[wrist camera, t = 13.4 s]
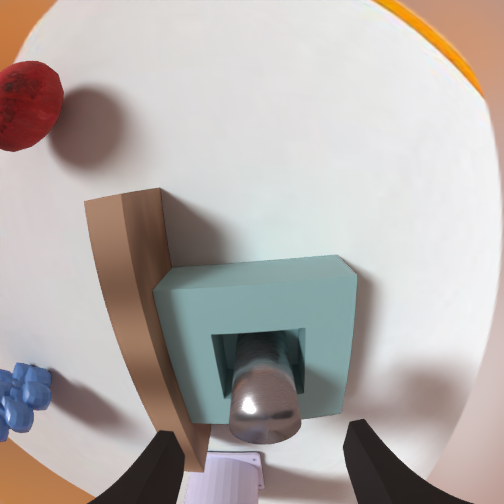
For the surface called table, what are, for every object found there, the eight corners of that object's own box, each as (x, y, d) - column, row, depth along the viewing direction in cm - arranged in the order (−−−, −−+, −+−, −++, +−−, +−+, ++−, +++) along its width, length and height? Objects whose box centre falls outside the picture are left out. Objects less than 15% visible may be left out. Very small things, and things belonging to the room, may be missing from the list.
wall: (210, 428, 20) (203, 472, 15) (189, 427, 20) (179, 470, 16) (159, 187, 15) (121, 193, 10) (130, 192, 15) (84, 201, 10)
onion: (89, 65, 13) (14, 27, 5) (82, 142, 14) (-9, 135, 6) (33, 89, 13) (-39, 73, 5) (28, 158, 14) (-52, 163, 7)
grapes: (25, 392, 21) (-20, 450, 10) (-1, 346, 19) (-58, 401, 8) (87, 405, 20) (38, 490, 9) (55, 351, 19) (-17, 435, 7)
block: (329, 377, 19) (341, 413, 15) (200, 386, 19) (191, 423, 16) (335, 252, 16) (357, 274, 13) (173, 265, 17) (152, 290, 13)
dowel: (289, 356, 17) (303, 439, 11) (242, 363, 18) (237, 446, 11) (283, 316, 16) (298, 398, 10) (231, 324, 17) (220, 408, 10)
